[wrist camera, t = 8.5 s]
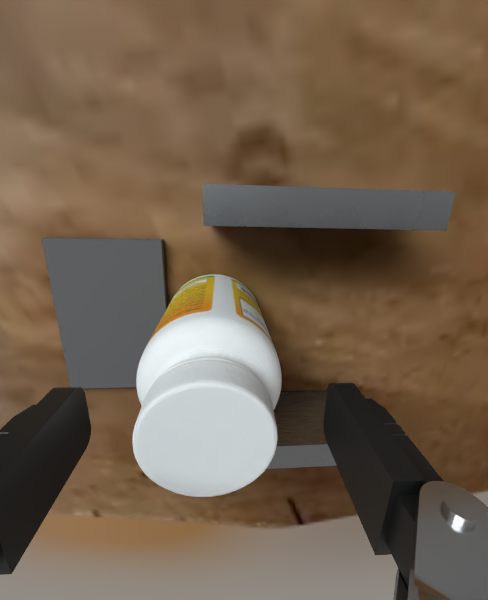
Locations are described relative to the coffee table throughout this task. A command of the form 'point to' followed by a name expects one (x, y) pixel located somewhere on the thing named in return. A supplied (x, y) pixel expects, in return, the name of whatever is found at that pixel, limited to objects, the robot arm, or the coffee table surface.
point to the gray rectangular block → (106, 305)
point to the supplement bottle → (208, 391)
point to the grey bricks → (318, 214)
